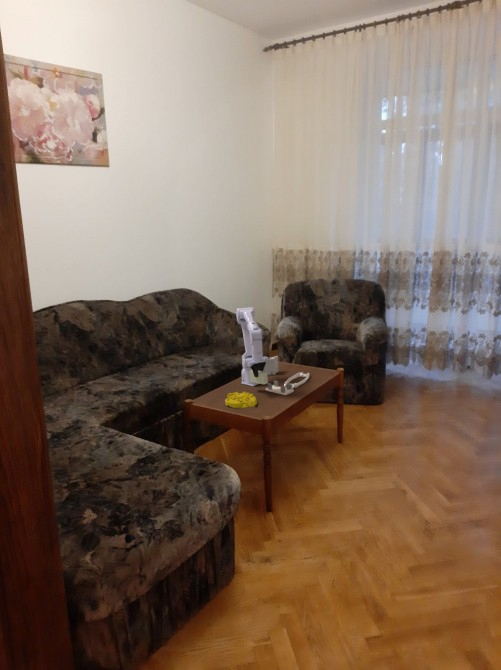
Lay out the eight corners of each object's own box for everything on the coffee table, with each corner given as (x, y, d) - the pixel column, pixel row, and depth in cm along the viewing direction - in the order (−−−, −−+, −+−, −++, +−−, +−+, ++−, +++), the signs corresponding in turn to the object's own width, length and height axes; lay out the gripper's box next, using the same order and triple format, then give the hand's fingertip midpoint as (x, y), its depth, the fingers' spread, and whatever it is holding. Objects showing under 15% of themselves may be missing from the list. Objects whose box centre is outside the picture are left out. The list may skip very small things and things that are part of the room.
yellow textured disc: (223, 409, 250) (223, 401, 249) (227, 397, 266) (226, 390, 265) (256, 408, 249) (256, 400, 248) (258, 396, 265) (257, 389, 264)
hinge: (278, 371, 306) (277, 355, 304) (280, 374, 301) (280, 358, 299) (256, 374, 303) (255, 358, 300) (258, 376, 298) (257, 360, 295)
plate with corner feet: (265, 390, 273) (265, 383, 272) (273, 386, 278) (273, 380, 277) (285, 395, 264) (285, 388, 263) (293, 391, 269) (293, 384, 268)
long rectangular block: (250, 381, 272) (249, 370, 271) (253, 380, 275) (253, 369, 273) (264, 384, 266) (263, 373, 264) (267, 382, 268) (267, 372, 267)
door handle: (313, 376, 294) (296, 390, 272) (298, 375, 298) (280, 388, 277) (313, 372, 293) (296, 385, 272) (297, 370, 298) (280, 383, 276)
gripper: (253, 356, 259) (255, 380, 262) (271, 349, 269) (272, 373, 272) (243, 354, 263) (245, 378, 266) (261, 348, 274) (262, 371, 277)
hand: (258, 376), depth 270 cm, fingers closed on long rectangular block, 3 cm apart
